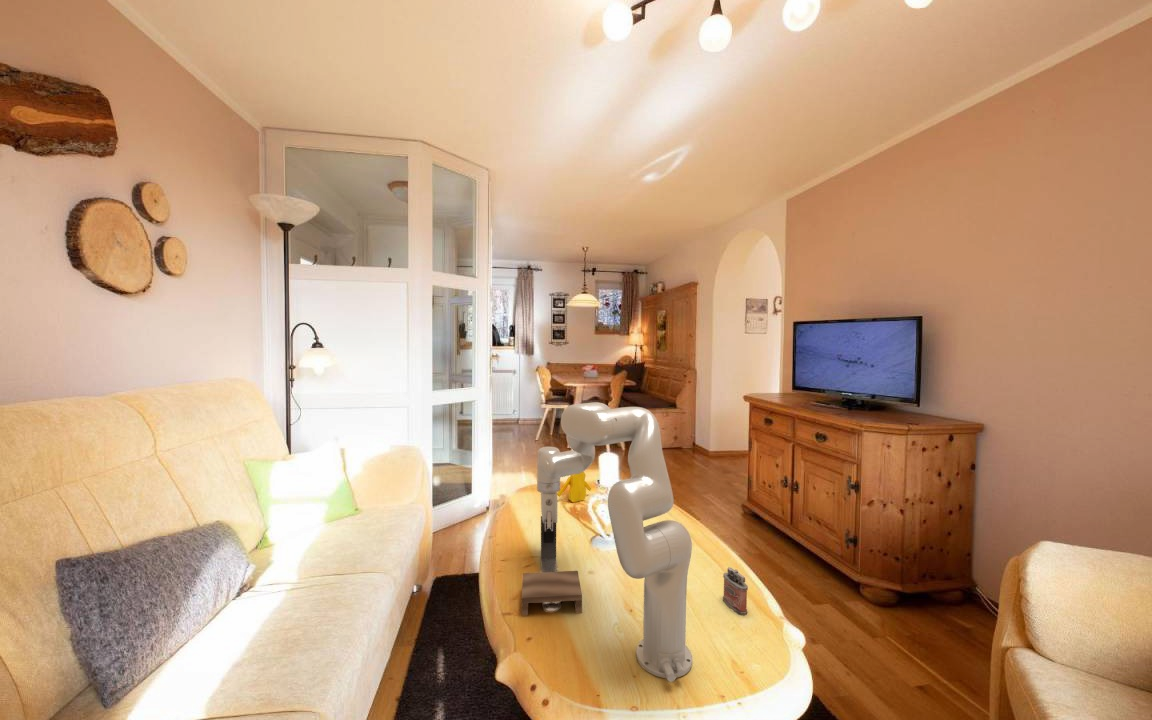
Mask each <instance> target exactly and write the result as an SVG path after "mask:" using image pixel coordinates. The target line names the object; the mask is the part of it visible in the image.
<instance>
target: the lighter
mask: <svg viewBox="0 0 1152 720" xmlns="http://www.w3.org/2000/svg"><path fill="white" fill-rule="evenodd" d="M726 569H727V572H724V573H722V574H723V576H722V577H723V597H722V601H723V603H724V604H725V605H726V606H727V607H728V608H729V609H730V610H731V611H733V612H734V613H736V614H737V615H738V616H743V617H745V616H747V615H748V609H747V605H748V603H747V602H748V596H747V594H748V588H749V586H748V584H747V583H746V577H745V576H744V575H742V574H741V573H739V571H738V569H734V568H733V567H730V566H729V567H727V568H726Z"/></svg>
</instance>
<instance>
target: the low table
mask: <svg viewBox="0 0 1152 720" xmlns="http://www.w3.org/2000/svg"><path fill="white" fill-rule="evenodd" d="M579 576H580V575H579V570H563V571H557V572H524V573H522V584H521V585H522V586H521V617H528V615H529V604H531V603H533V604H535V603H543V602H557V601H560V602H570V601H571V602H573V603H574V608H575V613H576V614H582V613H583V591H582V587H581V582H580V577H579Z"/></svg>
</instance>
